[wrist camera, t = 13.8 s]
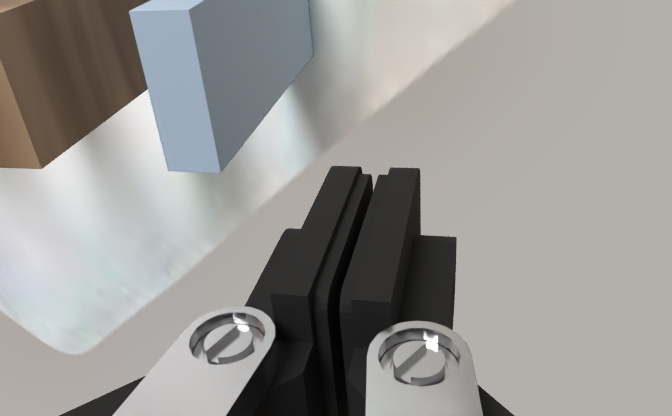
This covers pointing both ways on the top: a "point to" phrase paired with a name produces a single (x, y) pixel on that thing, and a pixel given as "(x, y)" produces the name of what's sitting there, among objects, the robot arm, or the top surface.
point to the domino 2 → (217, 71)
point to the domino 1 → (62, 74)
